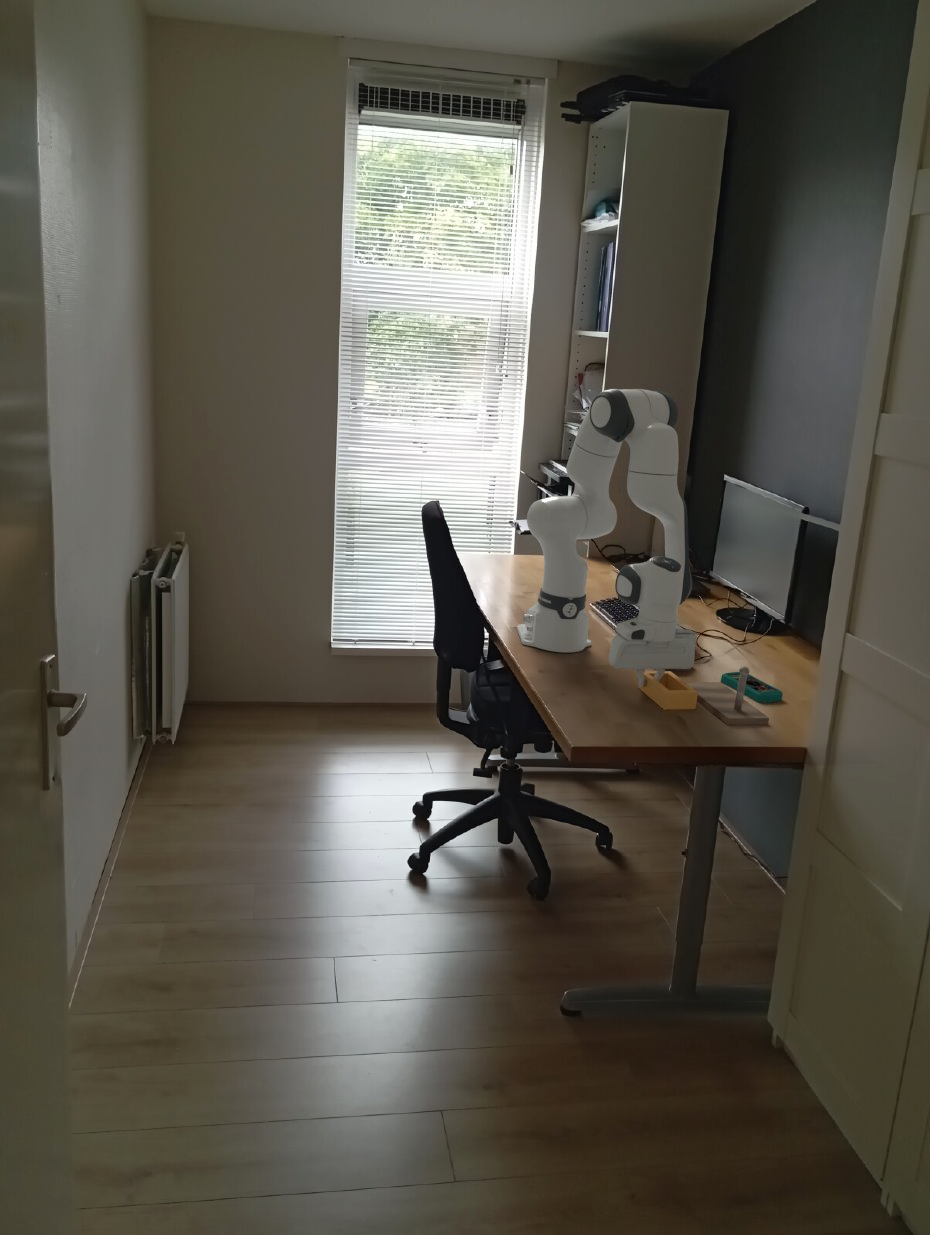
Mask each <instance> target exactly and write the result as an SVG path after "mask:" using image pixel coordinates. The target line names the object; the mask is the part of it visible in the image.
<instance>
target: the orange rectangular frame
mask: <svg viewBox="0 0 930 1235" xmlns="http://www.w3.org/2000/svg"><path fill="white" fill-rule="evenodd" d="M656 672H657V671H656V670H654V671H653V670H651V671H649V670H645V672H644V673H642V675H643V677H644V678H646V679H647V680H648V681H647V686H646V687H640V686H639V685H638V686H637V689H639V690H640V691H641V692H642V693H644V694H645V696H648V698H650V699H651V700H652V701H654V703H655V704H657V705H658V706H659V707H660V708H661V709H662V708H663V709H662V710H664V711H665V710H668V709H669V710H696V706H697V702H698V701H697V696H698V692H697V691H696V690H694V689H693V688H692V687H690V686H689V685H688V684H687V683H685V682H686V681H684V680H683V679H681V678H680V677H679V676H677V675H676V674H675V673H673V671H670V670H665V673H664V675H663V676H662V677H661V679H660V680H659V682H658V681H657V680H656V679H655V678H653V677H654V675H655V674H656Z"/></svg>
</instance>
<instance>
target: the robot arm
mask: <svg viewBox="0 0 930 1235" xmlns="http://www.w3.org/2000/svg"><path fill="white" fill-rule="evenodd" d="M678 417H679V409H678V404H677V402H676V400H675V399H674V397H673V396H671V395H670V394H667V392H666V393H665V392H663V391H660V390H654V391H653V390H650V389H649V390H648V389H643V388H632V389H631V388H630V389H628V388H627V389H625V388H624V389H618V388H611V389H610V388H609V389H605V390H603V391H601V392H599V393H597V394H596V395H595V396H594V397H593V399H592V401H591V404H590V408H589V409H588V410H587V412H586V413H585V416H584V418H583V419H582V422H581V424H580V426H579V428H578V430H577V433H576V436H575V439H574V442H573V445H572V447H571V451H570V454H569V458H568V461H567V464H566V466H565V467H566V468H565V469H566V470H565V471H566V474H567V475H568V477H569V479H570V480H571V482H572V483H574V489H573V493H572V494H571V495H562V496H557V495H556V496H548V497H544V498H542V499H538V500H536V501H534V502H533V503H532V504H531V505H530V506H529V508H528V511H527V515H526V523H527V527H528V530H529V531H530V533H531V535H532V536H533V537H534V539H535V538H536V540H537V541H538V542H539V544H540V547H541V550H542V554H543V560H544V561H543V564H544V565H543V575H542V576H543V577H542V586H541V588H540V591H539V592H538V596H537V597H538V598H537V602H536V603H535V604H534V605H533V606H532V607H530V608H529V609H528V610H527V613H524V614H523V616H522V622H523V623H521V624H517V626H516V631H517V633H518V636H519V638H520V641H521V643H522V645H524V646H528V647H533V648H537V649H541V650H545V651H549V652H556V653H578V652H581V651H583V650H585V648H587V647H590V646H592V640H591V639H588V633H589V632H588V631H589V614H588V613H587V612H586V610H585V608H586V605H587V594H586V589H587V582H588V581H587V580H588V573H589V566H588V563H587V561H586V560H585V559H584V558H583V557H582V556H581V555H579V554H578V551H577V541H578V540H590V539H596V538H600V537H602V536H606V535H609V534H610V533H612V532H613V531H614V530H615V527H616V525H617V520H618V511H617V508H616V506H615V504H614V503H613V501H612V500H611V498H610V482H611V477H612V475H613V471H614V468H615V465H616V462H617V460H618V456H619V454H620V450H621V447H622V444H623V442H624V441H625V442H626V443H627V445H628V447H629V450H630V452H629V453H630V456H629V461H628V462H629V463H628V471H627V480H626V490H627V496H628V497H629V499H630V500H631V502H632V503H633V504H634V505H635V506H636V507H637V508H639V509H640V510H642V511H644V512H646V513H648V514H650V515H651V516H654V517H655V518H657V519H658V520H659V521H660V522H661V524H662V525H663V528H664V551H665V552H664V553H665V556H663V555H662V556H661V555H660V556H659V555H658V556H653V557H651V558H649V559H648V560H647V561H644V562H640V563H631V564H625V565H623V566H622V568H620V570H619V571H618V573H617V575H616V579H615V585H614V586H615V592H616V595H617V597H618V598H619V599H620V600H621V601H622V602H623V603H624V604H627V605H630V606H637V607H639V612H638V615H637V617H634V618H631V619H629V620H625V621H621V622H619V623H617V624H616V626H615V631H616V632H617V634H615V636H613V638H612V640H611V644H610V648H609V653H608V656H607V657H608V660H607V661H608V663H609V664H610V666H611V667H612V668H613V669H615V670H634V671H635V673H636V675H637V677H638V681H637V684H638V685H639V686H640V687H646V686H647V681H648V680H647V679H646V678H644V677H643V675H642V673H644V672H645V671H646V670H654V671H657V672H656V674H655V675H654V677H653V678H655V679H656V680H657V681H658V682H659V680H660V679H661V677H662V676H663V675H664V673H665V671H666V670H691V669H692V667H693V666H694V665H695V651H696V650H695V649H696V648H695V646H696V644H697V634H696V632H695V631H694V630H692V629H682V628H677V627H678V620H679V615H678V608H679V606H680V605H682V604H683V603H684V602H685V601H686V600H687V599H688V597H689V596H690V595H691V593H692V589H693V579H692V573H691V569H690V558H689V557H690V556H689V555H690V552H689V550H690V549H689V520H688V519H689V516H688V508H687V503H686V500H685V499H684V498H683V497H682V496H681V495H680V493H679V488H678V487H679V486H678V473H679V472H678V471H679V460H680V458H679V453H680V452H679V437H678V433H677V431H676V430H675V426H676V424H677V423H678V422H677V421H678Z"/></svg>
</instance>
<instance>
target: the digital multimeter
mask: <svg viewBox="0 0 930 1235" xmlns="http://www.w3.org/2000/svg"><path fill="white" fill-rule="evenodd" d="M739 677H740V673H739V671H734V672H731V671H730V672H725V673H723V674H721V678H720V682H721V683H722V684H724V685H725V686H727V687H730V688H732V689H733V690H735V691H737V688H738V682H739ZM783 695H784V693H783V691H782V690H780V689H778V688H776V687H774V686H772V685H770V684H768V683H766V682H764V681H762V680H760V679H758V678H757V677H755V676H754V675H752V674H750V673H749V674H748V675H747V680H746V686H745V691H744V696H745V697H748V698H750V699H751V700H753V701H755V702H756V703H774V702H781V701H782V700H783Z"/></svg>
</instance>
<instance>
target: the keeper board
mask: <svg viewBox="0 0 930 1235" xmlns="http://www.w3.org/2000/svg"><path fill="white" fill-rule="evenodd" d="M738 672H739V673H740V677H739V682H738V688H737V690H736V692H735V691H733V690H732V689H731V688H729V686H727V685H726V684H724V683H722V682H721V681H719V682H715V681H714V682H713V681H712V682H710V681H709V682H705V681H703V682H700V681H699V682H690V681H689V682H686V681H684V682H685V683H687V684H688V685H689V686H690V687H692V688H693V689H694V690H696V691H697V692H698V696H697V702H698V703H699V704H700V705H702V706H703V707H704V708H706V709H707V710H708V711H709V712H710V711H711V712H710V713H711V714H713V713H714V714H715V715H717V716H718V717H717V716H716V717H717V718H718V719H719V718H720V719H721V720H720V719H719V720H720V721H721V722H723V721H724V722H725V723H726V725H727V726H740V725H741V726H742V725H748V726H749V725H769V721H770V717H768V716H767V715H766V714H765V713H763V712H762V711H760V710H759V709H758V708H756V707H755V706H754V705H753V704H751V703H749V701H747V700H746V699H744V698H745V697H744V696H745V695H744V691H745V686H746V680H747V675H748V674H750V669H749V668H748V667H747V666H746V665H745V666H741V667H740V668H739V671H738ZM714 714H713V715H714ZM715 715H714V716H715ZM724 722H723V723H724ZM725 723H724V724H725Z"/></svg>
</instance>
